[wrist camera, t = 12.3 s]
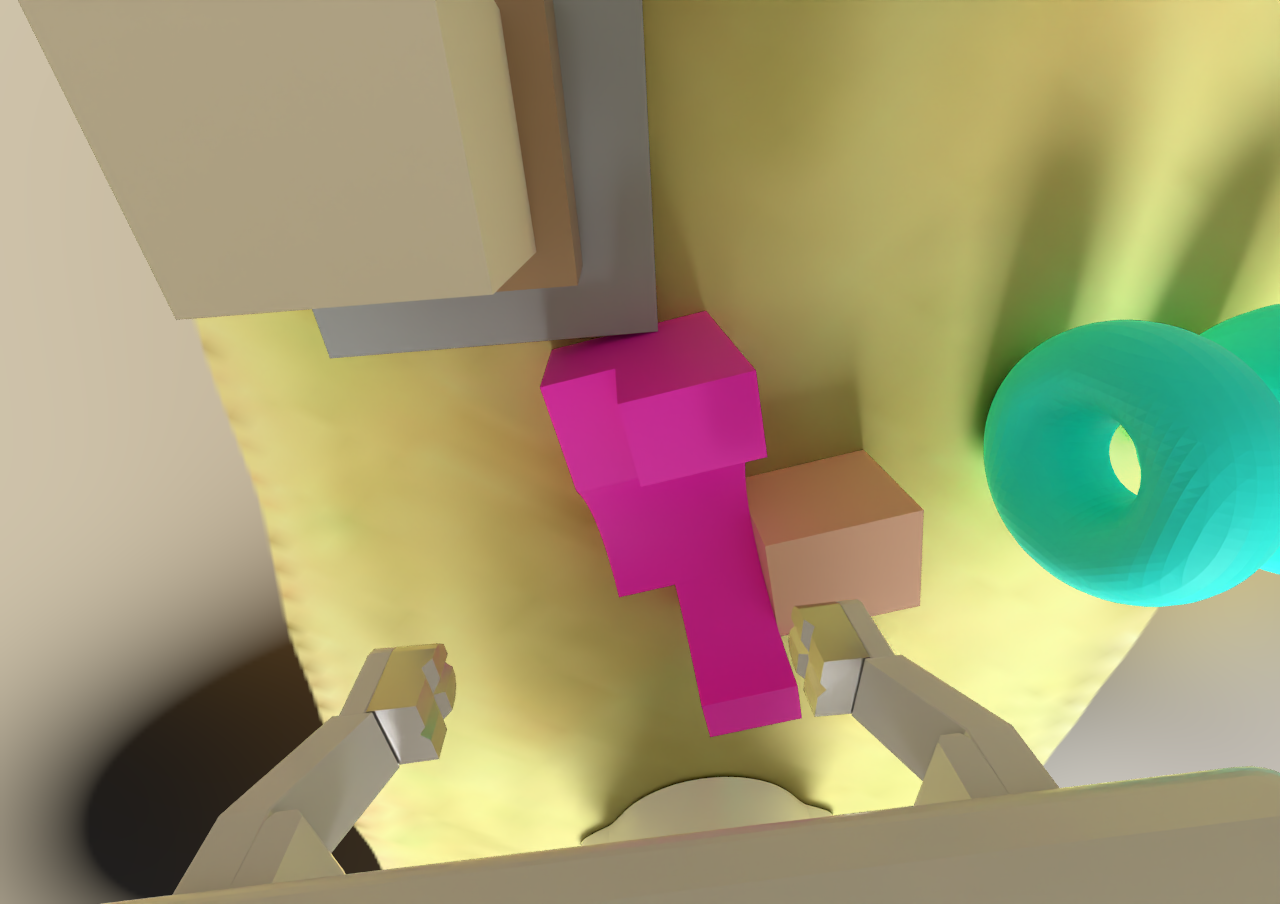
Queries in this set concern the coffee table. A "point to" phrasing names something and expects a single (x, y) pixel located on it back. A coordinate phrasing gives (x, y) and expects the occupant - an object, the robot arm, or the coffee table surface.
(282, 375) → the coffee table surface
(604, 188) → the plate
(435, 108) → the cream brick
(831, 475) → the salmon block
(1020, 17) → the coffee table surface
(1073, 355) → the donuts
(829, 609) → the robot arm
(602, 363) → the toy block
